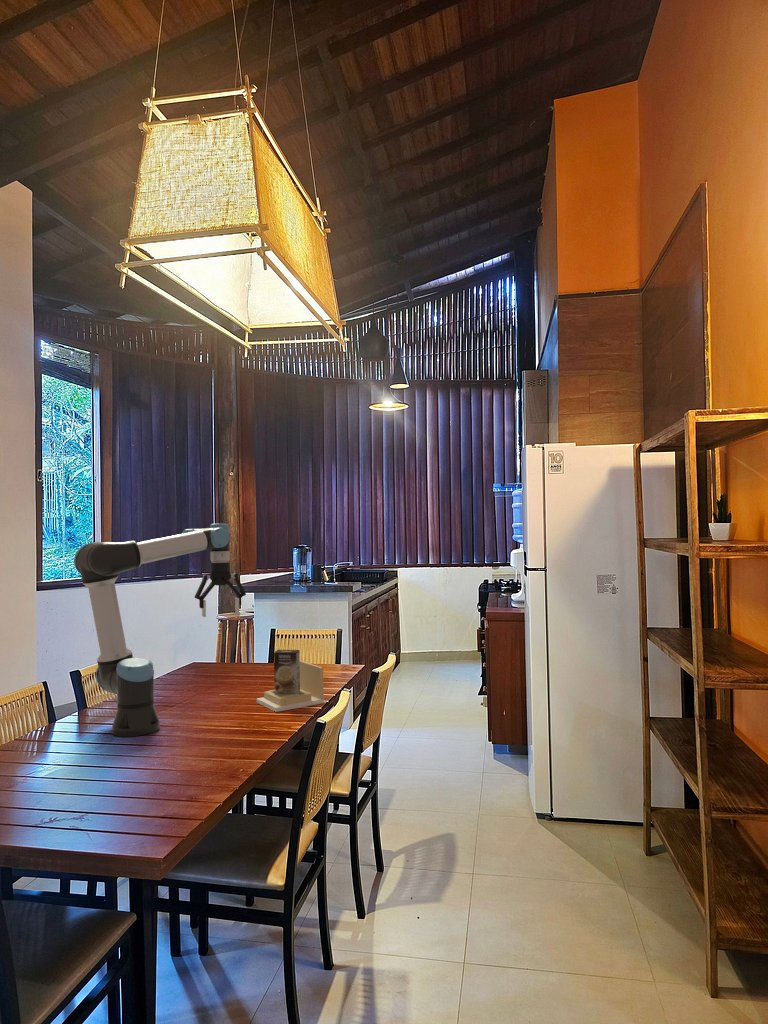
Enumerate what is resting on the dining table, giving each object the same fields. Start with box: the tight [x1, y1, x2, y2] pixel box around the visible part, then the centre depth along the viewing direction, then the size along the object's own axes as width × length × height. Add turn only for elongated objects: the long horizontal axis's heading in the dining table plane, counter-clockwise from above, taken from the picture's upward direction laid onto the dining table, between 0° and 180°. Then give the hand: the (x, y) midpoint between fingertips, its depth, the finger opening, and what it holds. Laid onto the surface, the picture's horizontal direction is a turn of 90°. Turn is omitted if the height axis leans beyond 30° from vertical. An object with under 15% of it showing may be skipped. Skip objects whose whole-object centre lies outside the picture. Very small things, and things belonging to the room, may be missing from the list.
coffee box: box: [273, 649, 301, 694], centre depth 251 cm, size 9×6×16 cm
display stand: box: [256, 660, 325, 713], centre depth 251 cm, size 20×18×14 cm
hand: (220, 615), depth 260 cm, fingers open, 13 cm apart
